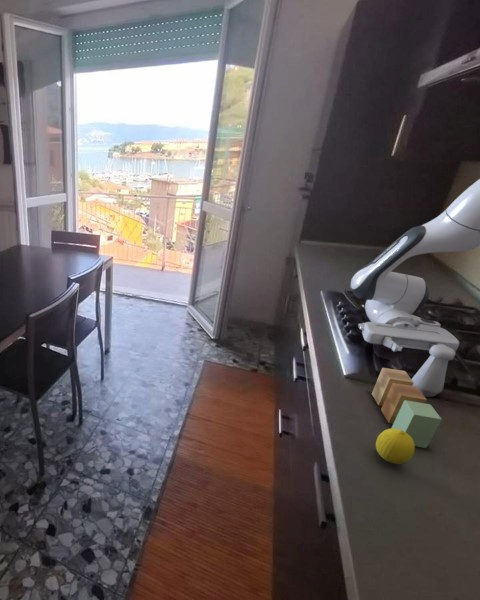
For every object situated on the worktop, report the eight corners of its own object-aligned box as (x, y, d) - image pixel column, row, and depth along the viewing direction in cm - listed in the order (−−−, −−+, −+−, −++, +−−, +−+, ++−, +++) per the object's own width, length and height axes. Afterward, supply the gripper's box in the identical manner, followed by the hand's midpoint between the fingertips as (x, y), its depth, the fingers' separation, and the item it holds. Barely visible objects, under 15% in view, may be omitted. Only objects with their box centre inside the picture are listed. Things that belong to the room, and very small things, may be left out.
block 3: (391, 427, 79) (404, 399, 76) (416, 432, 78) (430, 404, 74) (399, 443, 75) (414, 414, 72) (426, 448, 74) (442, 419, 70)
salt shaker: (445, 399, 87) (469, 354, 81) (421, 399, 87) (443, 355, 81) (424, 383, 92) (445, 341, 86) (402, 384, 92) (421, 341, 86)
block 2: (380, 409, 84) (392, 382, 81) (404, 413, 83) (417, 386, 79) (388, 423, 80) (401, 395, 77) (412, 427, 79) (427, 399, 75)
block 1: (371, 393, 89) (382, 367, 86) (393, 397, 88) (405, 370, 84) (378, 405, 85) (389, 378, 82) (401, 409, 84) (413, 382, 81)
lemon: (410, 476, 68) (427, 445, 65) (375, 467, 70) (389, 437, 67) (399, 453, 73) (413, 424, 69) (366, 446, 75) (379, 417, 71)
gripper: (359, 313, 106) (376, 336, 94) (445, 322, 100) (475, 348, 88) (352, 331, 109) (369, 356, 97) (436, 341, 103) (464, 369, 91)
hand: (420, 352), depth 93 cm, fingers open, 8 cm apart
